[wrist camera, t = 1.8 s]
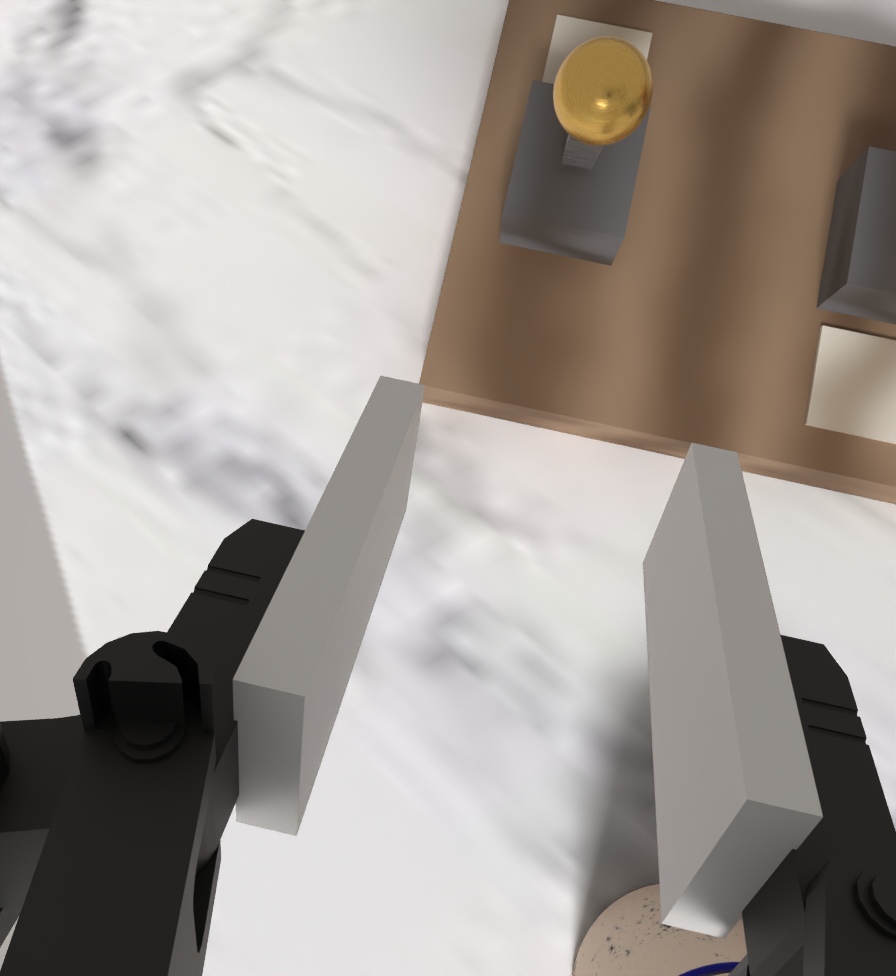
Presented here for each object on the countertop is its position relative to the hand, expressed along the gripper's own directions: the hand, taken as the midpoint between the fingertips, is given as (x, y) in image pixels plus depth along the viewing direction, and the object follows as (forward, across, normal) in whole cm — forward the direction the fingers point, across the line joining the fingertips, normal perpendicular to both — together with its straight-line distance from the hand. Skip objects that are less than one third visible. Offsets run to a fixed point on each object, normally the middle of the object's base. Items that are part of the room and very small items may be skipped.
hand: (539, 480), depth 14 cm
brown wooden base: (+27, +7, -4) cm, 28 cm away
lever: (+23, 0, 0) cm, 23 cm away
